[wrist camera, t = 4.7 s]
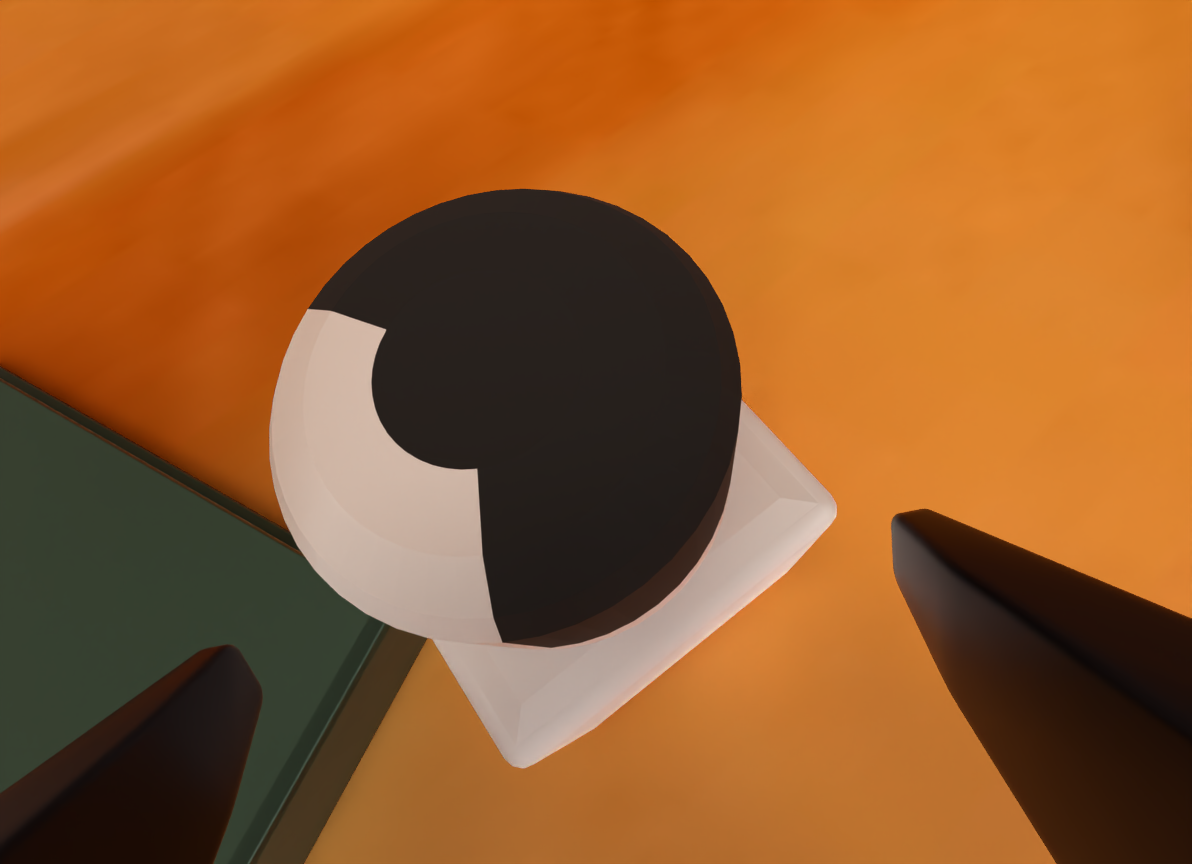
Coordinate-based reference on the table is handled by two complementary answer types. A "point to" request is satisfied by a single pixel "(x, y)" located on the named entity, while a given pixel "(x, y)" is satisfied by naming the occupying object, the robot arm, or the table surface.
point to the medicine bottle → (534, 455)
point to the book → (174, 618)
